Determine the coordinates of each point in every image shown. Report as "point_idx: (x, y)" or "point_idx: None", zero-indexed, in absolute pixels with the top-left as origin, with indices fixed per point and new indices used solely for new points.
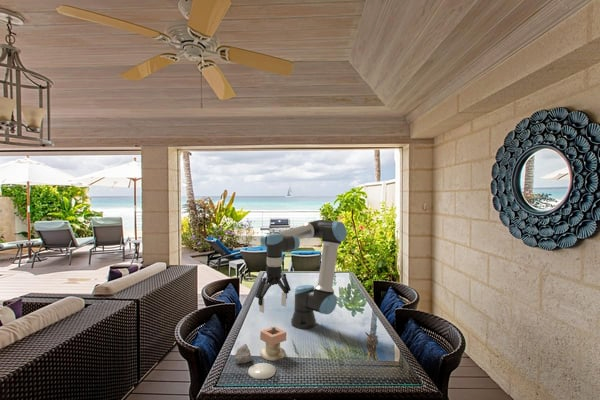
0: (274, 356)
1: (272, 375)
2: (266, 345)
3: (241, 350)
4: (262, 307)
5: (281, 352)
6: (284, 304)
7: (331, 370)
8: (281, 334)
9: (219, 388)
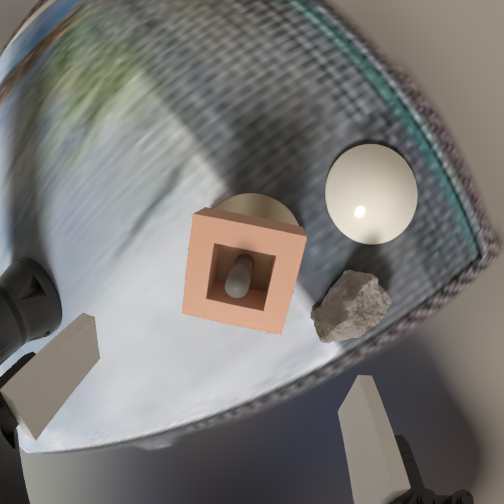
0: (275, 215)
1: (373, 144)
2: None
3: (366, 319)
4: (382, 415)
5: None
6: (85, 331)
7: (204, 19)
8: (232, 220)
9: (483, 238)
